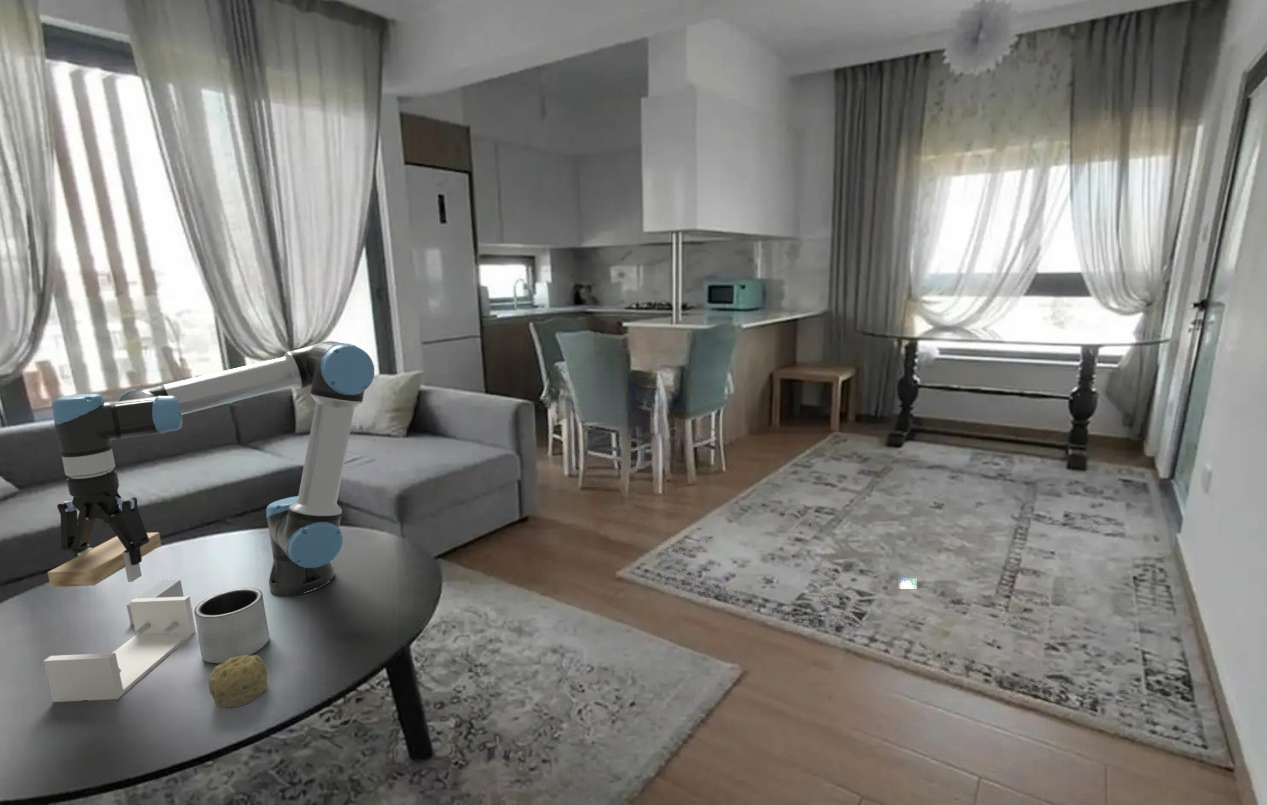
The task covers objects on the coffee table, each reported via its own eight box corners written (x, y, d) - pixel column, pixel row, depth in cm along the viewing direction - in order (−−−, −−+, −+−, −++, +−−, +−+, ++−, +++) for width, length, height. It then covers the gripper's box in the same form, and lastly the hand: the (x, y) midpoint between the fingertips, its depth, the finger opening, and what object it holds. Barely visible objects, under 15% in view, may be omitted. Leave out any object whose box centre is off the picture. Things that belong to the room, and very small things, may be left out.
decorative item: (251, 695, 125) (213, 663, 123) (288, 666, 125) (250, 633, 123) (226, 729, 116) (184, 695, 114) (265, 698, 116) (224, 663, 113)
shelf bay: (195, 631, 142) (189, 596, 141) (117, 699, 120) (108, 657, 118) (141, 633, 142) (134, 598, 140) (53, 702, 119) (43, 660, 117)
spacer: (183, 597, 158) (180, 579, 157) (149, 623, 146) (146, 604, 145) (166, 598, 158) (162, 580, 157) (130, 624, 146) (126, 605, 145)
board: (161, 545, 135) (159, 532, 135) (94, 585, 118) (91, 570, 117) (123, 546, 135) (121, 533, 134) (50, 587, 117) (47, 572, 117)
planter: (197, 673, 127) (188, 623, 125) (206, 642, 138) (198, 596, 136) (268, 655, 133) (261, 607, 130) (271, 626, 144) (264, 582, 141)
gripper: (159, 465, 127) (177, 569, 131) (53, 468, 126) (76, 573, 130) (131, 477, 119) (152, 586, 124) (19, 480, 118) (44, 590, 123)
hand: (113, 579), depth 127 cm, fingers closed on board, 8 cm apart
